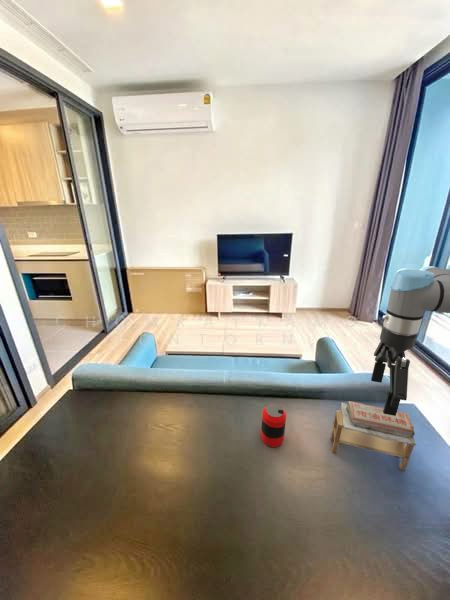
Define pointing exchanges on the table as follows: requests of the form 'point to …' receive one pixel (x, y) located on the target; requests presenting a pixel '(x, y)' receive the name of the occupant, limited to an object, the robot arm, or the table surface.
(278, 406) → the soda can
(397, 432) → the packaged product
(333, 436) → the rack
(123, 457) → the table surface
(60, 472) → the table surface
